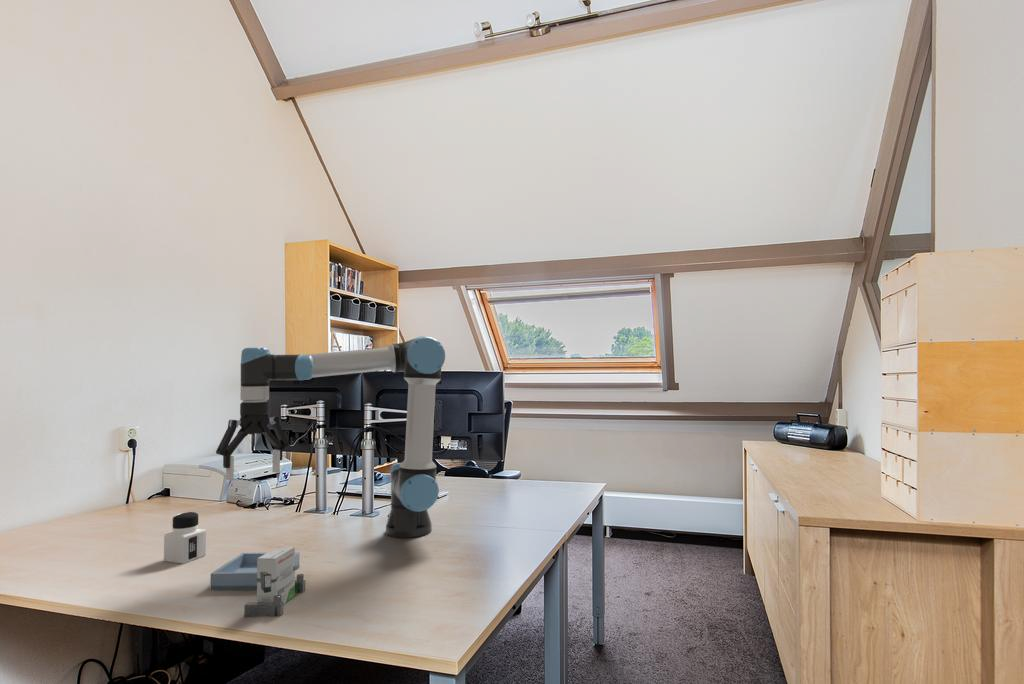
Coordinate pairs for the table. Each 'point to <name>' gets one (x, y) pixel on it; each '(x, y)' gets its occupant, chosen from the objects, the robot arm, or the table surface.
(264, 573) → the ink box
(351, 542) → the table surface
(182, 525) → the container
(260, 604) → the cradle
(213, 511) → the table surface
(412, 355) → the robot arm
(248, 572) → the bin
